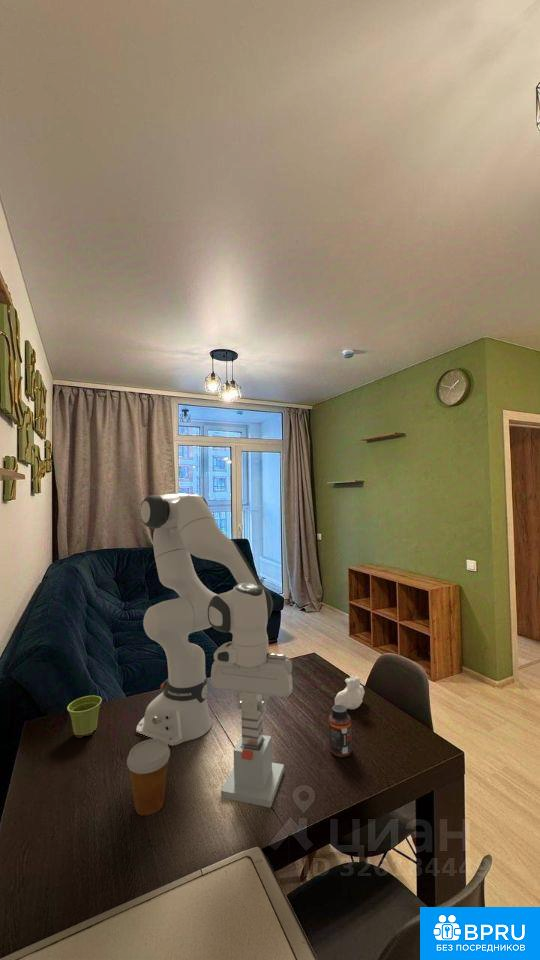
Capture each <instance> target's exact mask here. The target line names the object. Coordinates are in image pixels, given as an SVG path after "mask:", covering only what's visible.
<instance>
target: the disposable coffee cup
mask: <svg viewBox="0 0 540 960" xmlns="http://www.w3.org/2000/svg"><path fill="white" fill-rule="evenodd" d="M170 756H171V749H170V747H169V745H168V744H167V743H166V742H165V741H163V740H161V739H151V738H149V739H145V740H143V741H139V742H138V743H137V744H134V746H133V747H132V748H131V749H130V751H129V754H128V756H127V759H126V765H127V767H128V770H129V776H130V782H131V790H132V797H133V803H134V810H136V811H135V812H137V813H136V814H137V815H139V814H140V815H139V816H143V815H147V816H151V815H154V814H156V813H157V812H159V811H160V810H161V809H162V807H164V806H163V805H164V803H165V795H166V794H165V793H166V784H167V775H168V774H167V773H168V765H169V759H170ZM153 813H154V814H153ZM150 814H151V815H150Z"/></svg>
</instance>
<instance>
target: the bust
mask: <svg viewBox="0 0 540 960" xmlns="http://www.w3.org/2000/svg"><path fill="white" fill-rule="evenodd" d="M344 682H345V683H346V687H345V688H344V689H343V690H340V691H339V692H337V694H336V696H335V697H334V705H343V706H345V707H346V708H347V710H348V709H349V710H356V709H358V708H359V707H360V706H361V704H362V703H363V698H364V695H365V688H364V686H363V685H362V684H361V678H360V675H354V674H353V675H350V676H349V678H348V677H346V678H345V679H344Z"/></svg>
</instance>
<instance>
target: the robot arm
mask: <svg viewBox="0 0 540 960" xmlns="http://www.w3.org/2000/svg"><path fill="white" fill-rule="evenodd" d="M140 518H141V519H140V520H141V521H142V523H143V525H145V527H147V528H149V529H150V528H151V529H154V531H153V535H152V539H153V540H152V543H153V544H152V545H153V554H154V560H155V561H154V562H155V563H156V564H155V565H156V570H157V574H158V575H157V576H158V580H159V582H160V583H161V584H162V585H163V587H165V588H167V589H171V590H173V591H175V593H176V594H178V596H179V597H177V598H172V599H167V600H163V601H160V602H159V603H156V604H154V605H151V606H150V607H148V608H147V610H146V612H145V613H144V616H143V630H144V632H145V634H146V636H147V637H148V638H149V639H151V640H152V641H154V642H156V643H157V644H159V646H161V648H162V649H163V650H164V652H165V653H164V654H165V656H166V662H167V674H168V676H167V677H168V678H166V679H165V680H164V682H163V683H162V684H160V690H162V689H163V691H162V692H161V693H159V694H158V695H157V696H155V698H153V699H152V700H151V702H150V703H149V704H148V705H147V707H146V709H145V712H144V717H142V719H140V721H139V722H138V724H137V725H136V727H135V728H136V729H135V730H136V731H135V732H138V733H140V734H143V735H145V736H148V737H151V738H153V739H161V740H163V741H165V742H166V743H167V744H169V745H168V746H170V745H171V746H172V747H174V745H175V746H178V745H179V744H181V743H184V742H189V741H192V740H195V739H198V738H200V737H202V736H204V735H205V734H207V733H208V732H209V731H210V729H211V728H212V725H213V723H212V718H211V716H210V715H211V714H210V710H209V706H208V705H209V704H208V699H207V697H208V679H207V678H208V677H207V675H206V654H205V652H204V649H203V648H201V646H199V645H198V644H195V643H191V642H190V641H189V636H190V634H192V633H196V632H201V631H204V630H207V629H209V628H213V629H214V630H216V631H218V632H220V633H230V634H232V641H228V642H225V643H223V644H222V645H220V646H219V647H218V648H217V649H216V650H215V652H213V660H214V661H213V663H212V665H211V671H210V684H211V686H212V687H213V689H217V690H225V691H232V696H233V697H234V699H235V701H236V704H237V708H236V709H238V710H241V691H243V692H252V693H257V694H262V701H261V702H260V703H259V712H263V713H266V711H267V702H268V700H269V699H270V697H271V696H272V697H273V696H274V697H281V698H288V697H289V696H290V695H291V693H292V692H293V686H294V685H293V675H292V672H293V662H292V660H291V658H289V657H288V656H287V655H285V654H277V653H272V652H271V653H270V651H269V635H268V631H267V627H268V623H269V622H268V620H269V619H270V617H271V616H272V615H271V614H272V612H273V608H274V601H273V597H272V595H271V593H270V592H269V591H268V589H267V588H266V587H265V586H264V585H263V584H262V582H261V581H260V580H259V578H258V576H257V575H256V573H255V571H254V570H253V569H252V567H251V565H250V563H249V561H248V560H247V558H246V556H245V555H244V554H243V551H241V548H240V547H239V546H238V545H237V544H236V542H235V541H234V540H232V539H231V538H230V537H228V536H227V535H226V534H225V533H224V531H223V530H221V528H220V527H219V525H218V523H217V522H216V519H215V517H214V514H213V512H212V511H211V509H210V508H209V504H208V501H207V500H206V498H205V497H204V496H203V495H200V494H196V493H180V492H179V493H177V492H175V493H165V494H151V495H148V496H146V497H145V498H144V499H143V500H142V502H141V504H140ZM191 555H192V556H194V557H195V558H198V559H202V560H206V561H207V560H208V561H213V562H216V563H219V564H221V565H223V566H225V567H226V568H227V569H228V570H229V571H230V573H231V575H232V576H233V578H234V579H235V581H236V583H237V584H236V585H235V586H233V589H231V590H228V591H226V592H222V593H221V592H220V593H215V592H213V591H212V590H210V589H209V588H207V586H206V585H204V584H203V582H202V581H201V580H200V578H199V576H198V575H197V572H196V571H195V567H194V563H193V561H192V556H191ZM263 699H264V700H263ZM145 736H144V737H145ZM148 737H147V738H148ZM151 738H150V739H151ZM171 746H170V747H171Z"/></svg>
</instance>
